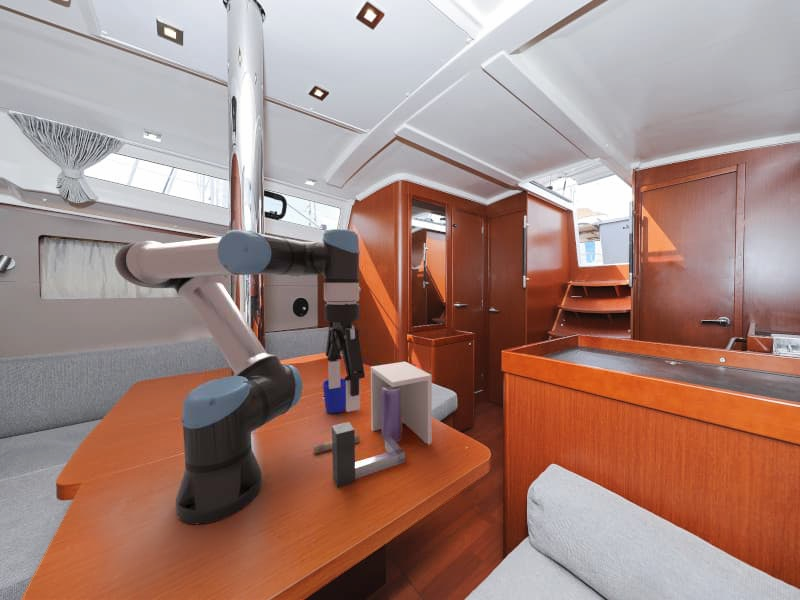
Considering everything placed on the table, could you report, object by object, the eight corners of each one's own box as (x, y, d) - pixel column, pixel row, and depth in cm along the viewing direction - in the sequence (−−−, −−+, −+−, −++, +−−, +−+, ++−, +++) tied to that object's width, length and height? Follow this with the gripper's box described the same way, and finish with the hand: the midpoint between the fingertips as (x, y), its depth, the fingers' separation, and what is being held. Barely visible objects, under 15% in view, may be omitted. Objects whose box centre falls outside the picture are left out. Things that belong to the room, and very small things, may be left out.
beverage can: (393, 446, 77) (393, 391, 76) (377, 438, 80) (376, 386, 79) (406, 436, 81) (406, 385, 81) (390, 430, 85) (389, 381, 84)
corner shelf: (393, 456, 72) (392, 382, 71) (371, 429, 86) (370, 366, 84) (431, 443, 78) (431, 375, 76) (405, 420, 91) (405, 361, 90)
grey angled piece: (337, 488, 61) (336, 434, 60) (328, 465, 69) (327, 417, 68) (406, 464, 69) (406, 416, 68) (391, 446, 76) (391, 403, 76)
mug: (356, 415, 94) (356, 386, 94) (320, 415, 95) (319, 386, 94) (360, 405, 103) (360, 378, 102) (327, 405, 103) (326, 378, 102)
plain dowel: (313, 444, 74) (313, 449, 75) (315, 450, 73) (314, 455, 74) (357, 432, 80) (356, 437, 81) (359, 438, 78) (359, 443, 79)
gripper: (381, 306, 53) (381, 417, 54) (341, 299, 75) (342, 378, 76) (342, 308, 49) (343, 426, 50) (312, 299, 71) (313, 382, 72)
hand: (343, 397), depth 63 cm, fingers open, 13 cm apart
